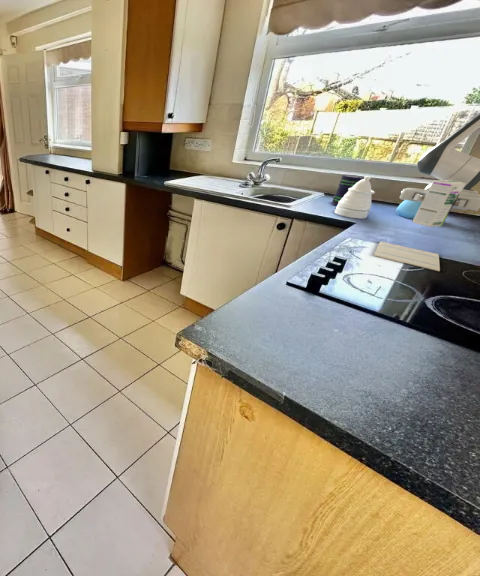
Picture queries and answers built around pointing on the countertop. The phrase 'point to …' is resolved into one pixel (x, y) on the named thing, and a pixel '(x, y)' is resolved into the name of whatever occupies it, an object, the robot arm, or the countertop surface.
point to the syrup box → (438, 202)
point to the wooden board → (408, 256)
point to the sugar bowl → (408, 209)
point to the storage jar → (345, 186)
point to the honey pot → (356, 200)
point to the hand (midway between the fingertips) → (439, 201)
